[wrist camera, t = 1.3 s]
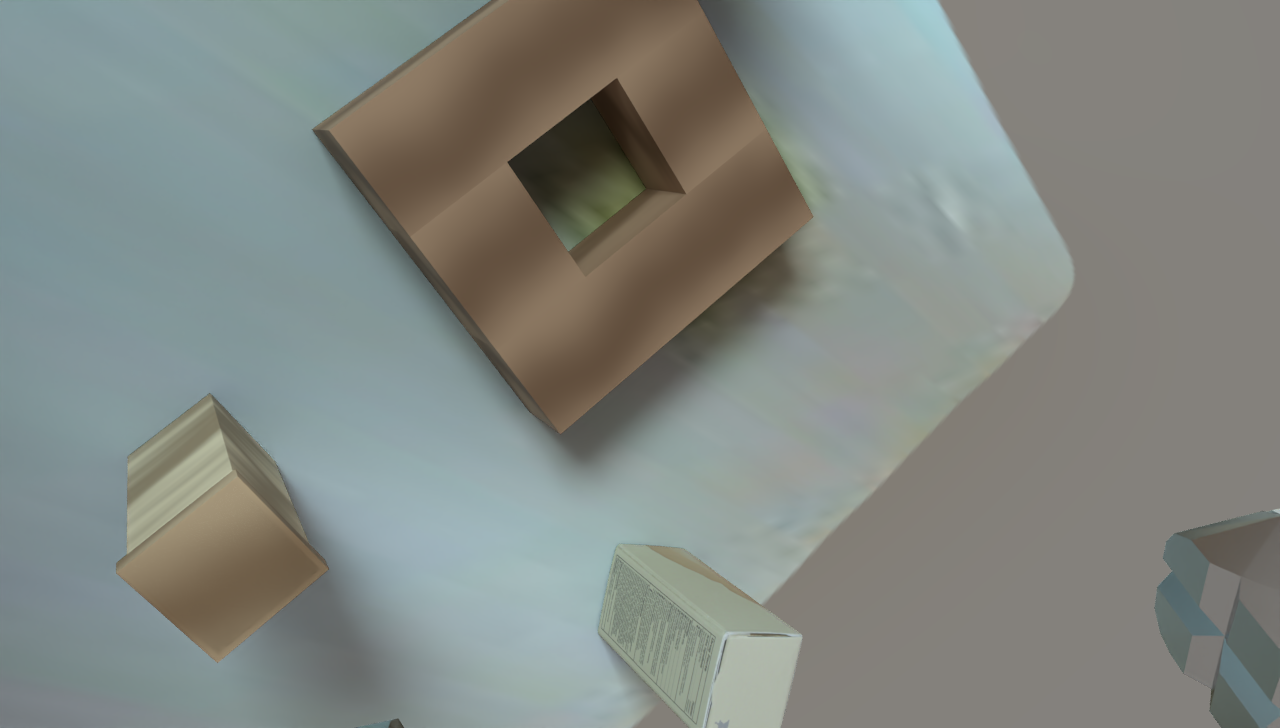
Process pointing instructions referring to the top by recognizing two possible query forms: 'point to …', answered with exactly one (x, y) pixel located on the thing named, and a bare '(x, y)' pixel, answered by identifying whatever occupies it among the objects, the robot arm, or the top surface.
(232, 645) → the peg
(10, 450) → the top surface
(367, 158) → the square hole block
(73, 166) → the top surface
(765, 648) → the box
